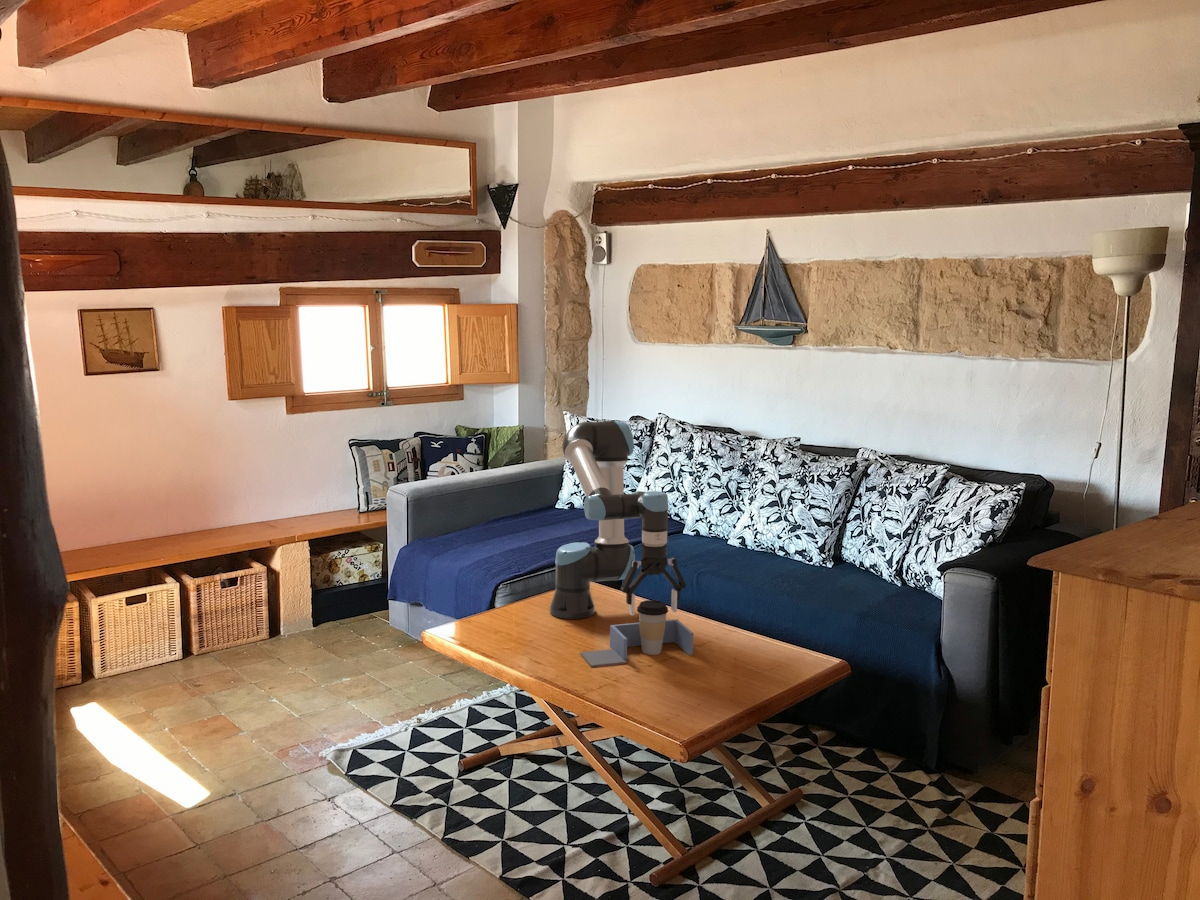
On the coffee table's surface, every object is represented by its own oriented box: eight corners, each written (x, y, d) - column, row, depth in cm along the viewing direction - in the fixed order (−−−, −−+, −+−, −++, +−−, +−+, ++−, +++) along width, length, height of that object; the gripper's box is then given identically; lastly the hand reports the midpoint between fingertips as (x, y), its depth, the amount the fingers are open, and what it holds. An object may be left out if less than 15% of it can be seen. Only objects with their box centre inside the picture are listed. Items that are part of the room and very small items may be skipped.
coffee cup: (667, 647, 306) (668, 600, 303) (666, 658, 296) (667, 609, 294) (636, 645, 306) (638, 598, 304) (634, 656, 297) (636, 608, 295)
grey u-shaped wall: (609, 647, 305) (610, 625, 304) (676, 640, 311) (677, 619, 310) (623, 662, 292) (624, 639, 291) (692, 655, 299) (693, 632, 298)
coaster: (580, 654, 298) (580, 652, 298) (615, 650, 301) (615, 648, 301) (591, 667, 288) (591, 665, 288) (626, 663, 291) (626, 661, 291)
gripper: (618, 549, 289) (617, 619, 292) (697, 544, 296) (696, 612, 299) (610, 543, 296) (609, 612, 299) (688, 538, 303) (686, 605, 306)
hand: (652, 612), depth 299 cm, fingers open, 13 cm apart
